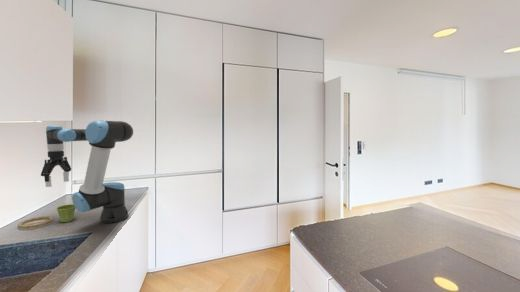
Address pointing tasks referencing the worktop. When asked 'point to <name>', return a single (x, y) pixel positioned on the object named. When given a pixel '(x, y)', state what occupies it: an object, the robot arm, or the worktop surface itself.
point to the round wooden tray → (35, 223)
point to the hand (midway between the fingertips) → (57, 184)
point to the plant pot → (66, 212)
